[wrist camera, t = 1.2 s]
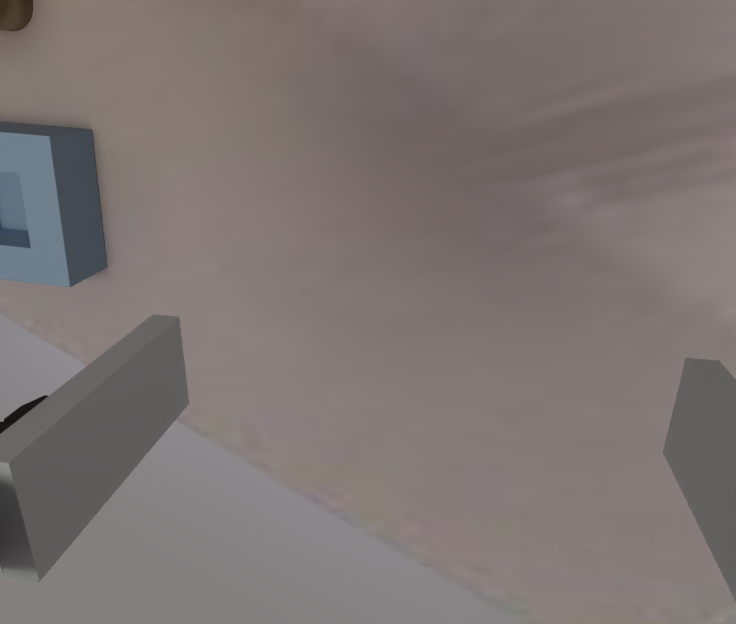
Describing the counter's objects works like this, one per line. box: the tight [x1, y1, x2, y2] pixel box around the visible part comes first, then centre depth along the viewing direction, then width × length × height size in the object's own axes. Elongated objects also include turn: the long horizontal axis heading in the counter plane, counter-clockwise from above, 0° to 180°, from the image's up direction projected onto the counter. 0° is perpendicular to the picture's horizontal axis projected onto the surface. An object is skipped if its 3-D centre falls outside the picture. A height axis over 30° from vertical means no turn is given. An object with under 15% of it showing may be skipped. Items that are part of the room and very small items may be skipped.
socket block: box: [0, 122, 107, 287], centre depth 46 cm, size 11×11×5 cm
